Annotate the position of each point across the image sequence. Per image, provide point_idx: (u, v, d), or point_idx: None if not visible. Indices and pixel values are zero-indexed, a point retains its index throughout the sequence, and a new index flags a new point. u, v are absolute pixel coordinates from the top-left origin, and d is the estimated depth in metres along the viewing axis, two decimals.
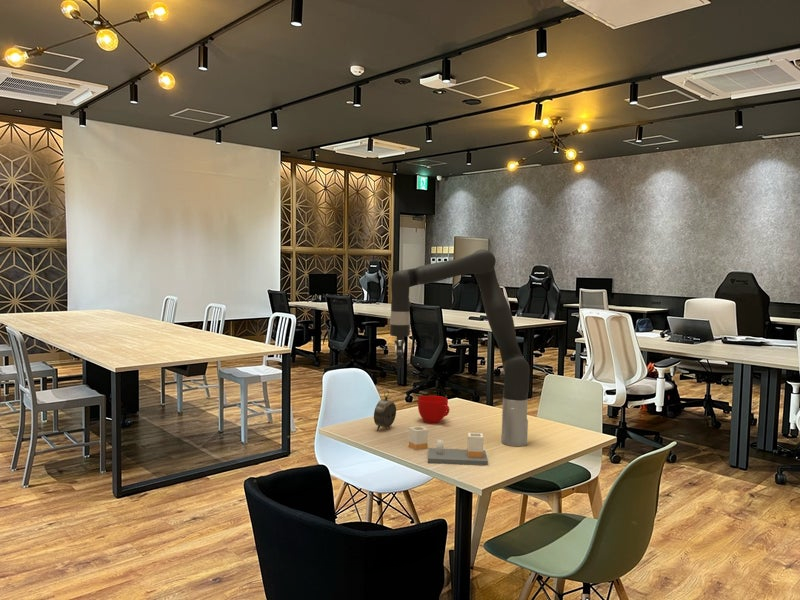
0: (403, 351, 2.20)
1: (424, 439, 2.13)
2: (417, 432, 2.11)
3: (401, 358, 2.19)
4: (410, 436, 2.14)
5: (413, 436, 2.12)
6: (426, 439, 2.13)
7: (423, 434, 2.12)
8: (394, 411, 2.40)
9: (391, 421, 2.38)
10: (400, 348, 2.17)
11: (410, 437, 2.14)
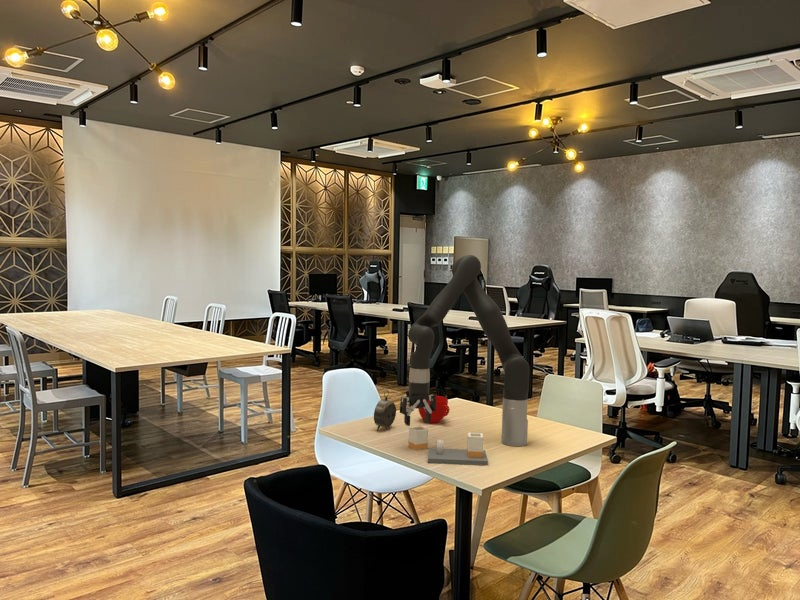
0: (424, 406, 2.17)
1: (424, 439, 2.13)
2: (417, 432, 2.11)
3: None
4: (410, 436, 2.14)
5: (413, 436, 2.12)
6: (426, 439, 2.13)
7: (423, 434, 2.12)
8: (394, 411, 2.40)
9: (391, 421, 2.38)
10: None
11: (410, 437, 2.14)
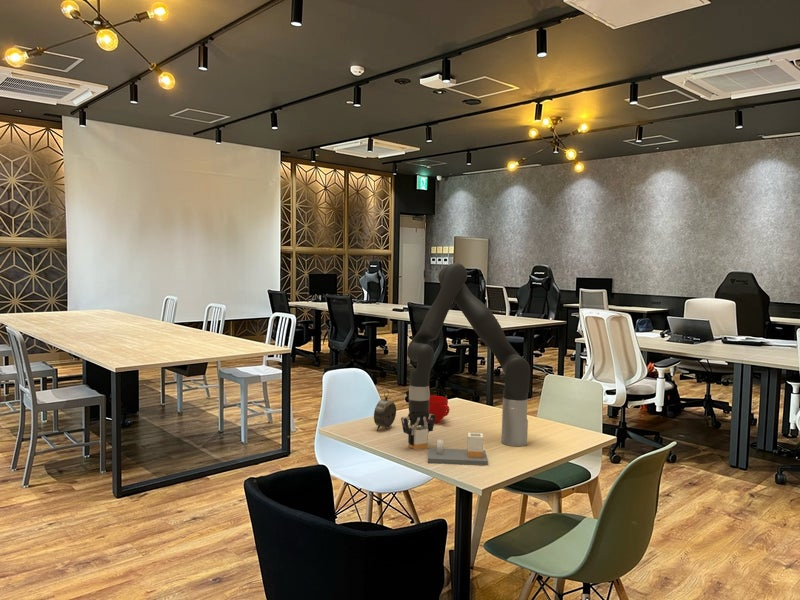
0: None
1: (424, 439, 2.13)
2: (417, 432, 2.11)
3: None
4: None
5: None
6: (426, 439, 2.13)
7: (423, 434, 2.12)
8: (394, 411, 2.40)
9: (391, 421, 2.38)
10: None
11: None
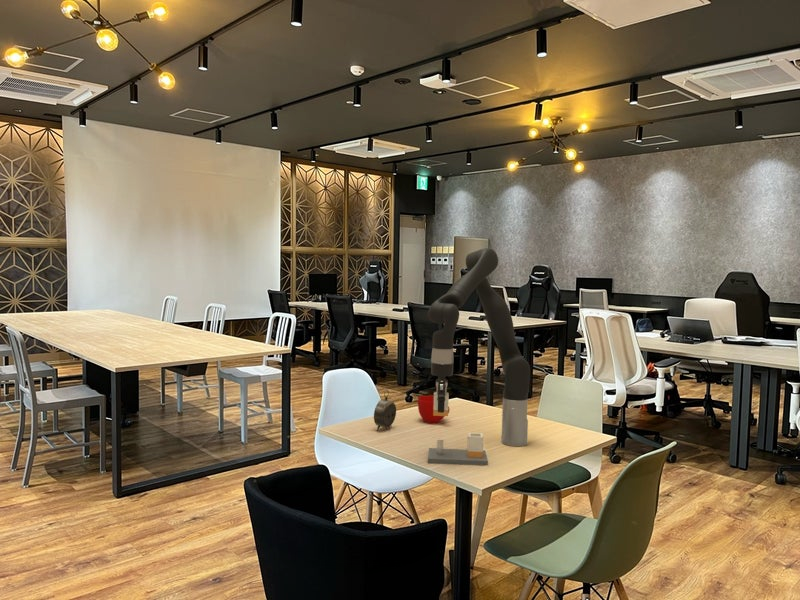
0: None
1: None
2: (448, 397, 2.00)
3: None
4: (437, 404, 2.00)
5: None
6: None
7: None
8: (394, 411, 2.40)
9: (391, 421, 2.38)
10: None
11: (437, 405, 2.00)
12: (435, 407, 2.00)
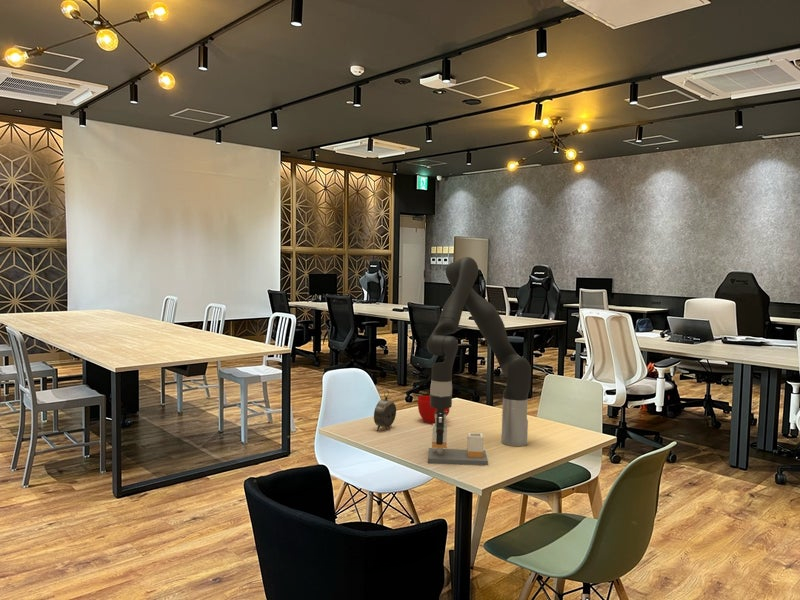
0: None
1: None
2: None
3: None
4: (435, 436, 2.01)
5: None
6: None
7: None
8: (394, 411, 2.40)
9: (391, 421, 2.38)
10: None
11: (435, 437, 2.01)
12: (434, 439, 2.01)
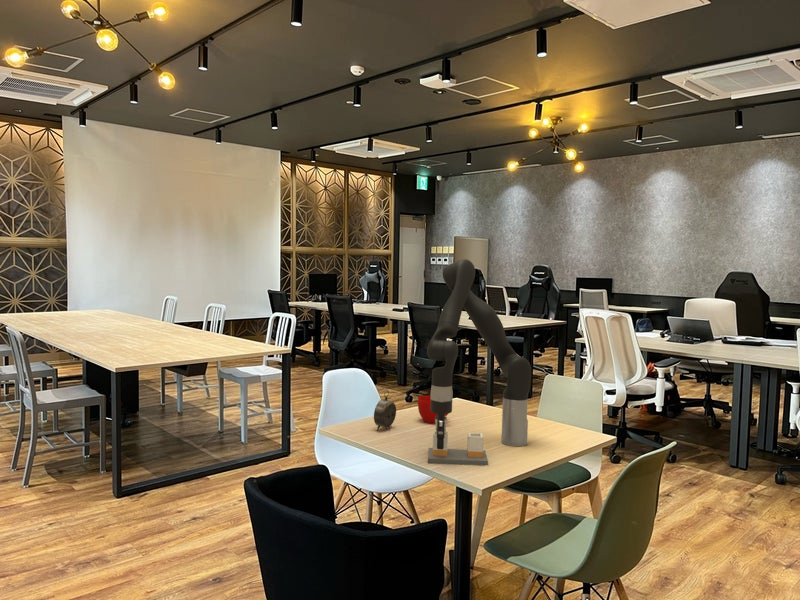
0: None
1: None
2: (447, 437, 2.00)
3: None
4: (436, 443, 2.00)
5: None
6: None
7: None
8: (394, 411, 2.40)
9: (391, 421, 2.38)
10: None
11: (436, 444, 2.00)
12: (434, 447, 2.01)
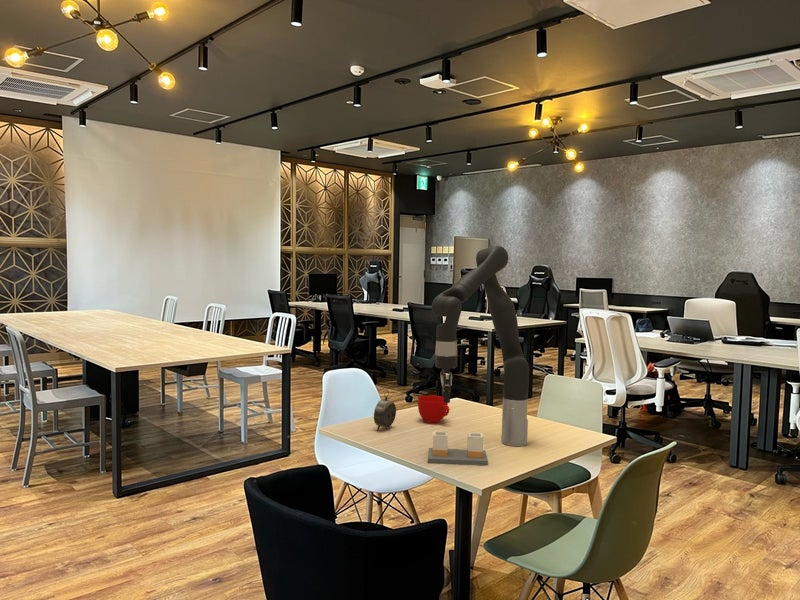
0: (441, 381, 2.09)
1: None
2: (447, 437, 2.00)
3: (443, 387, 2.09)
4: (436, 443, 2.00)
5: (442, 442, 2.00)
6: None
7: None
8: (394, 411, 2.40)
9: (391, 421, 2.38)
10: None
11: (436, 444, 2.00)
12: (434, 447, 2.01)
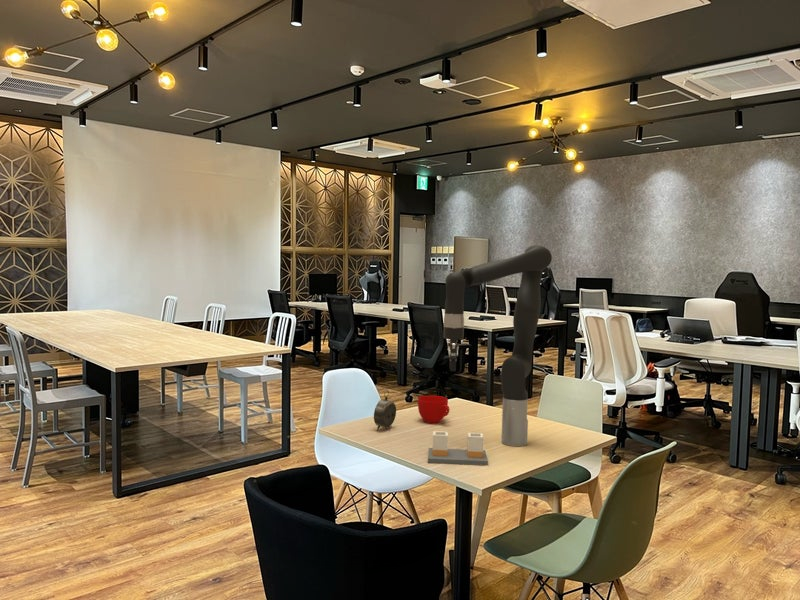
0: (449, 351, 2.23)
1: None
2: (447, 437, 2.00)
3: None
4: (436, 443, 2.00)
5: (442, 442, 2.00)
6: None
7: None
8: (394, 411, 2.40)
9: (391, 421, 2.38)
10: None
11: (436, 444, 2.00)
12: (434, 447, 2.01)
